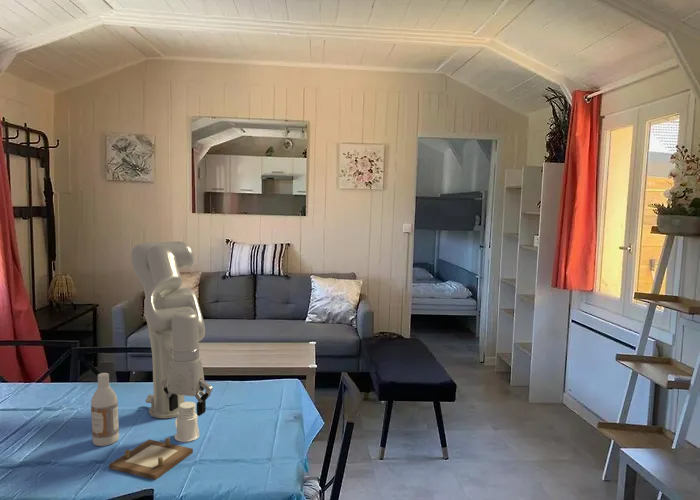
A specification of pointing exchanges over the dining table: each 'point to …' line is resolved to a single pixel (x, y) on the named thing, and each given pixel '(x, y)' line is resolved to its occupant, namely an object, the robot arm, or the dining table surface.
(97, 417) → the bath foam
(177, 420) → the downlight
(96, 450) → the dining table surface
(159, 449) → the pin board
